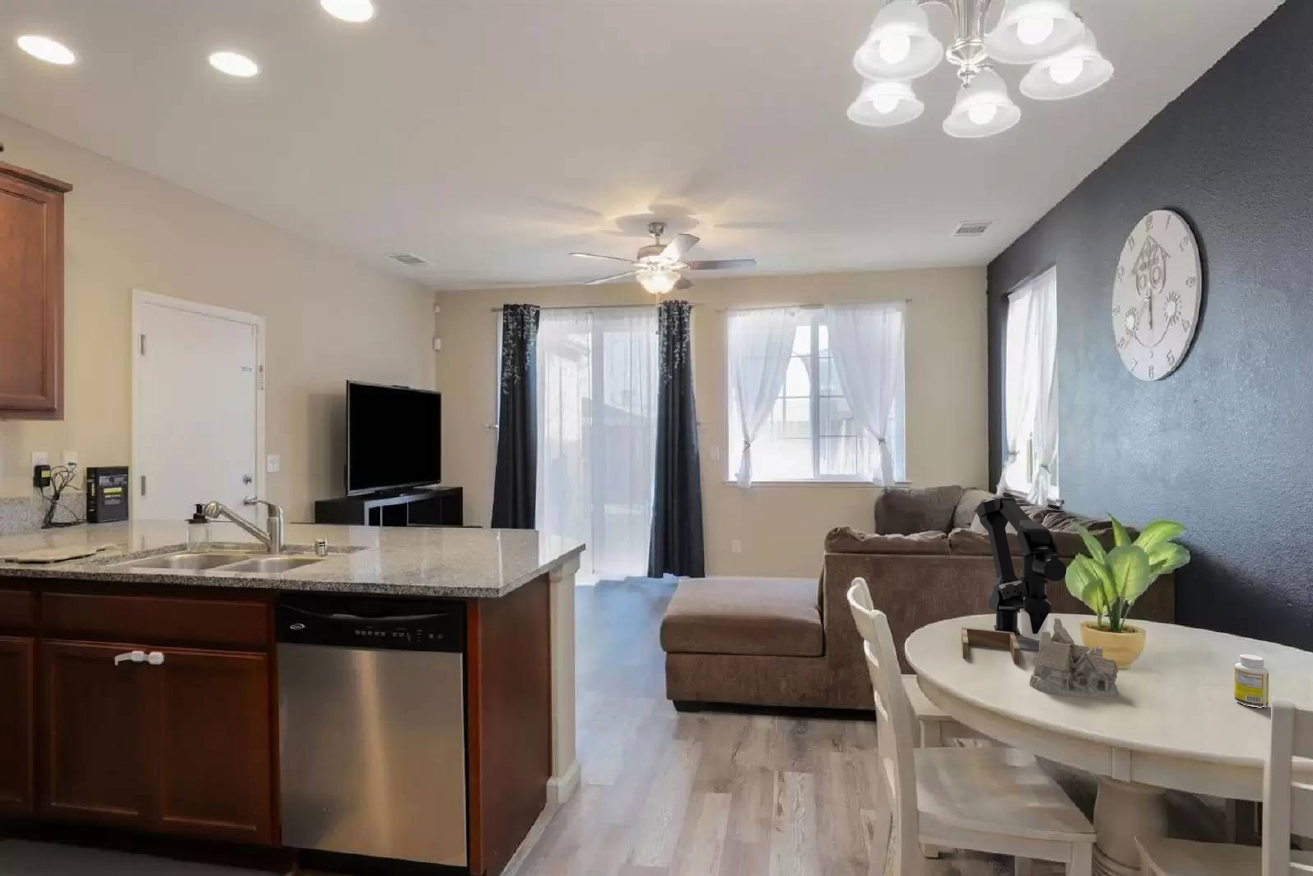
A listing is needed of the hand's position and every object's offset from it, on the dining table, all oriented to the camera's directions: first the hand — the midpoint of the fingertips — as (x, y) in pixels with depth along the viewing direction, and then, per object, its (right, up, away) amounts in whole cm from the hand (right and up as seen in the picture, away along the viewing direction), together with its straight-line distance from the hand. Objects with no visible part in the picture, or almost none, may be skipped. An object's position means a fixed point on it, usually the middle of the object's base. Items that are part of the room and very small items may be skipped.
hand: (1033, 630), depth 189 cm
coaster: (0, -4, 0) cm, 4 cm away
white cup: (0, -2, 0) cm, 2 cm away
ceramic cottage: (-8, -5, -31) cm, 32 cm away
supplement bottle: (+25, -5, -40) cm, 47 cm away
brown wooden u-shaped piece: (-15, -4, -6) cm, 17 cm away
